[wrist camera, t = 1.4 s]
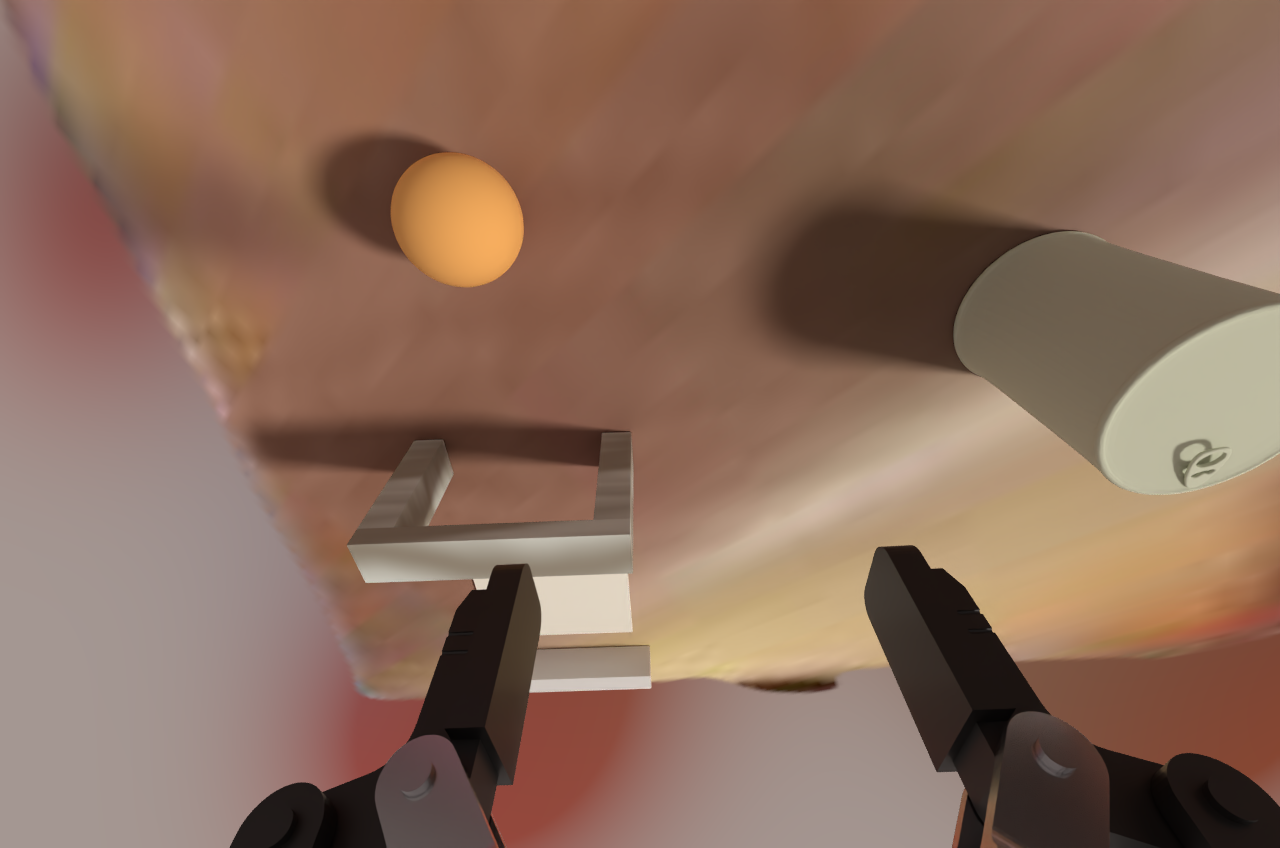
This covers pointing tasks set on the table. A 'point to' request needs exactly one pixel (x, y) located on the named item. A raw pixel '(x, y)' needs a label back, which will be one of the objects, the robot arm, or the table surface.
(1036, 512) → the table surface
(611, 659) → the wall
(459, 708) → the robot arm
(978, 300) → the can
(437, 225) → the ball
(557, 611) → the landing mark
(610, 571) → the bridge
